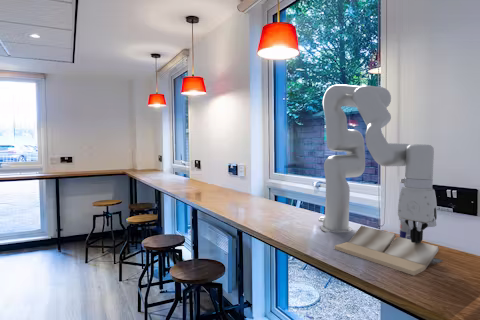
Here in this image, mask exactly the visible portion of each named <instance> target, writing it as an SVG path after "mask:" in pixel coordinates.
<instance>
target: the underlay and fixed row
mask: <svg viewBox="0 0 480 320" xmlns="http://www.w3.org/2000/svg"><path fill="white" fill-rule="evenodd" d="M334 250H335V251H339V252H341V253H345V254H347V255H348V256H349V257H353V258H355V257H357V258H359V259H362V260H366V261H367V262H368V261H369V262H368V263H370V262H371V263H374V264H377V265H380V266H384V267H387V268H389V269H393V272H395V273H396V271H397V273H398V274H402V275H403V276H406V277H410V278H411V277H412V276H416V275H418V274H420V273H422V272H424V271H426V270H427V269H428V268H429V269H430V266H432V267H433V266H434V265H436V263H437V264H439V263H440V262H444V261H443V260H442V259H440V258H435V257H434V258H433V259H432V261H431V262H430V263H429V265H430V266H429V265H428V266H427V268H426V265H423V264H419V263H416V262H413V261H409V260H406V259H403V258H400V257H396V256H393V255H390V254H386V253H383V252H380V251H376V250H373V249H370V248H366V247H363V246H360V245H356V244H353V243H350V242H349V241H346V242H343V243H338V244H335V245H334Z"/></svg>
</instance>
